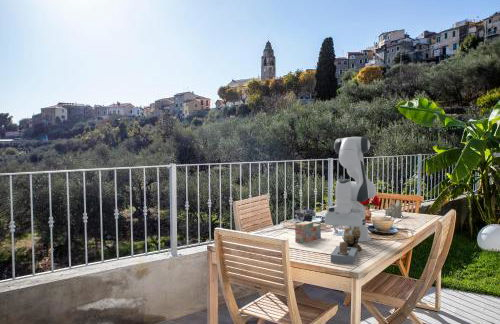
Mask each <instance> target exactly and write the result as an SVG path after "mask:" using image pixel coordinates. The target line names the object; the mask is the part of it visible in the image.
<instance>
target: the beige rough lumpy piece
mask: <svg viewBox="0 0 500 324" xmlns="http://www.w3.org/2000/svg"><path fill="white" fill-rule="evenodd" d="M349 227H350V228H345V227H344V230H343V234H342V235H343V236H342V237H343V238H342V239H343V242H347V247H354V248H358V253H360V252H361V251H362V250H363V248H362V246H361V245H360V244H359V242H358V239H359V238H360V234H361V233H360V229H359V227H354V228H353V230H352V234H349V231H351V229H352V228H351V226H349Z"/></svg>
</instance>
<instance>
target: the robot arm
mask: <svg viewBox="0 0 500 324" xmlns="http://www.w3.org/2000/svg"><path fill="white" fill-rule="evenodd" d="M370 147H371V142H370V140H369V138H368V137H367V136H350V137H340V138H337V139H335V141H334V144H333V149H334V152H335V153H336V154H337V155H338V162H339V164H340V165H341V166H342V167H343V168H344V169H346V173H347V175H348V176H349V177H351V178H353V180H354V181H353V180H352V181H351V179H348V178H340V179H337V180H336V184H335V187H334V188H333V189H334V191H333V193H334V195H333V196H334V198H335V202H334V203H335V204H334V205H331V206H327V207H326V213H325V216H324V224H325V225H328V226H332V228H333V230H334V233H335V234H339V229H337V226H341V227H344V229H345V228H350V227H349V226H351V228H352V229H351V231H349V234H352V230H353V228H354V227H359V229H360V233H361V234H360V238H359V239H358V243H359V242H370V241H372V238H371V236H370V234H369V228H368V226H367V220H366V207H365V206H364V204H363V203H364V202H366V201H367V200H368V199H373V198H374V197H375V196H376V194H377V192H378V191H377V187H376V185H375V184H374V183H373V182H372V181H371V180H370V179H369V177H368V176H367V175H366V171H365V161H364V154H366V153H368V152H369V150H370ZM342 239H343V236H342Z"/></svg>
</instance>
